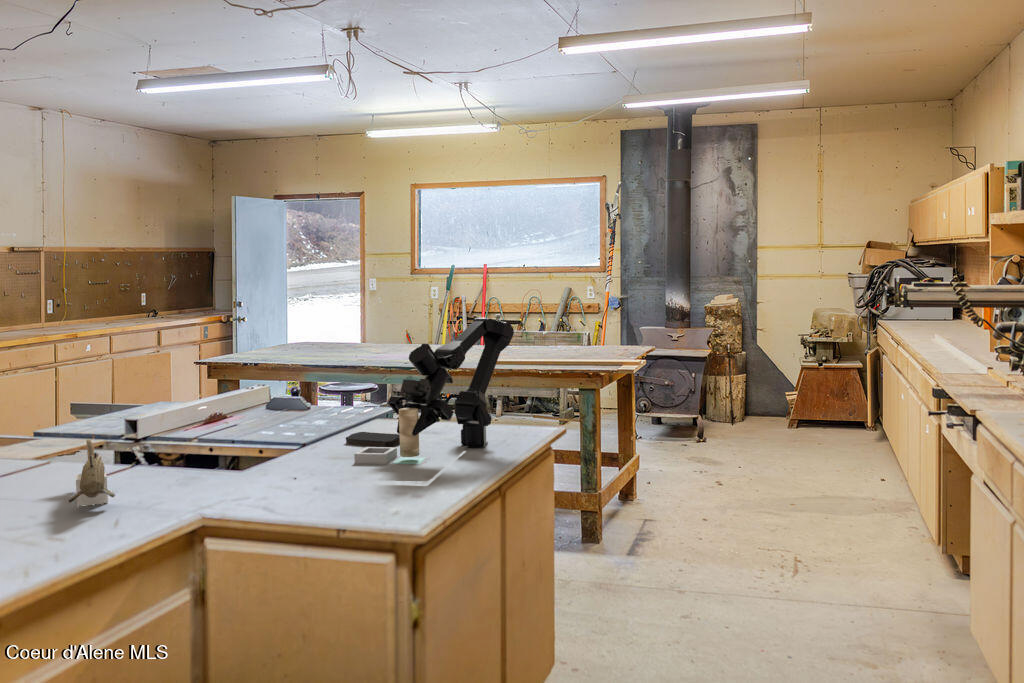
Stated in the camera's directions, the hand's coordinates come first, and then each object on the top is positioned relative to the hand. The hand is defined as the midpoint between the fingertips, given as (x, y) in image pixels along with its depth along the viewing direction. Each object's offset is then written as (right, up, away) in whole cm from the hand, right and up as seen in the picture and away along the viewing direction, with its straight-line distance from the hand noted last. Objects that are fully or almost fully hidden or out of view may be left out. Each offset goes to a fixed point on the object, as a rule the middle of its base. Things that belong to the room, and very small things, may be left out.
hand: (405, 433), depth 213 cm
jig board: (-4, -8, +3) cm, 9 cm away
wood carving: (-67, -12, -28) cm, 73 cm away
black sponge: (-13, -7, +26) cm, 30 cm away
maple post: (+1, -6, +2) cm, 6 cm away
